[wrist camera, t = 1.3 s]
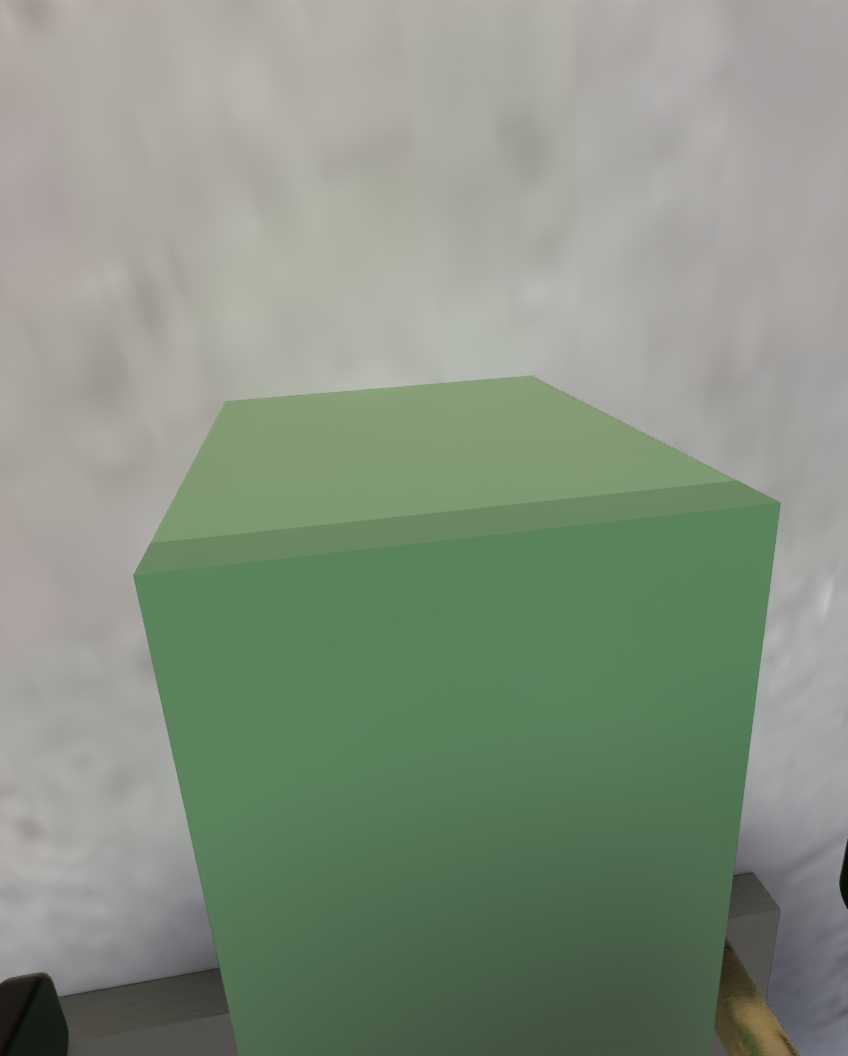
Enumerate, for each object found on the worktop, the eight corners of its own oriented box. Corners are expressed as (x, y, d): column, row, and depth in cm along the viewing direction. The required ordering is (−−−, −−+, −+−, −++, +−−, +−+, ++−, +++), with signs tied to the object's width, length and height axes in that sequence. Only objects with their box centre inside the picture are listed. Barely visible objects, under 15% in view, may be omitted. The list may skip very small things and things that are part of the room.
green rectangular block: (529, 374, 12) (780, 503, 6) (531, 852, 15) (685, 1250, 9) (226, 400, 11) (133, 574, 5) (302, 892, 15) (302, 1345, 9)
